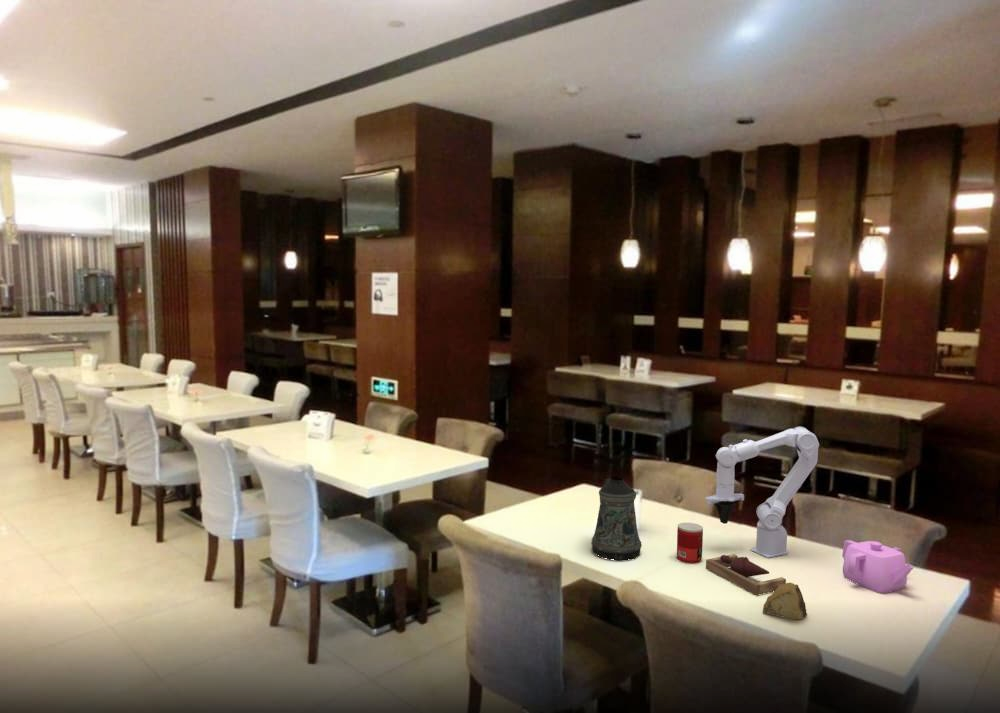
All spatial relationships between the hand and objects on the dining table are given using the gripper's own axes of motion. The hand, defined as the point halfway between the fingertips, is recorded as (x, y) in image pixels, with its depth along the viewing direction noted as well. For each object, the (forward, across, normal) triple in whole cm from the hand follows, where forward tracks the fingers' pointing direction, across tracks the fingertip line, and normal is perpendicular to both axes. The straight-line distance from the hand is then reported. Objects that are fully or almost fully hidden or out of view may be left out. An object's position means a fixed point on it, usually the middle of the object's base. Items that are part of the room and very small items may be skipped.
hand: (723, 522), depth 228 cm
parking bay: (+9, -9, -22) cm, 25 cm away
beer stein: (+10, -36, +12) cm, 39 cm away
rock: (+10, -15, -44) cm, 48 cm away
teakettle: (+10, +26, -37) cm, 47 cm away
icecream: (+10, -10, -22) cm, 25 cm away
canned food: (+10, -16, -3) cm, 19 cm away
